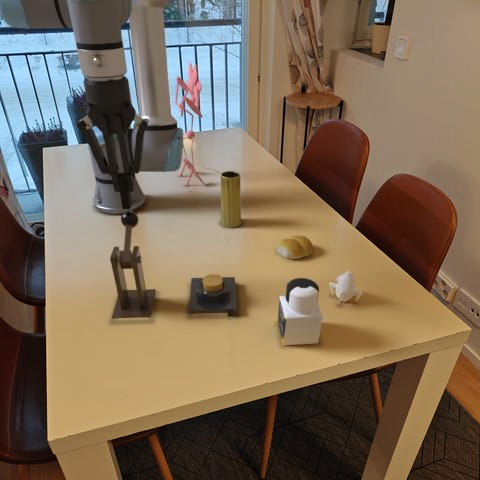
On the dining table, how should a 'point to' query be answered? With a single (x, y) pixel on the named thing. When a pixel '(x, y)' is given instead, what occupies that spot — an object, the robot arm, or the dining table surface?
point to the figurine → (194, 90)
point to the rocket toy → (345, 287)
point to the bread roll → (295, 247)
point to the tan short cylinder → (212, 283)
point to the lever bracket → (131, 300)
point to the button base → (213, 298)
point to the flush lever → (127, 238)
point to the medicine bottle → (300, 313)
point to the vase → (230, 199)
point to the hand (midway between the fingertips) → (127, 206)
